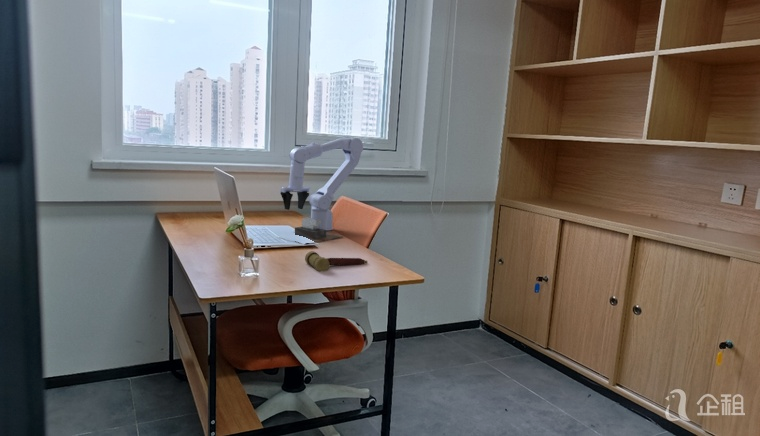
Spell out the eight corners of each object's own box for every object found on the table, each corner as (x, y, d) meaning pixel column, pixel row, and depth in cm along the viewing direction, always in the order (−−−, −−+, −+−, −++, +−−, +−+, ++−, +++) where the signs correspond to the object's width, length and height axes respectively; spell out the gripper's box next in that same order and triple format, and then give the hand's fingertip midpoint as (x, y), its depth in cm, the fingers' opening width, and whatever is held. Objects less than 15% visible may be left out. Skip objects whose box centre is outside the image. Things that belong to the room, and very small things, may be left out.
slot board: (315, 231, 234) (315, 222, 233) (343, 237, 224) (343, 229, 224) (276, 237, 216) (276, 228, 216) (304, 244, 207) (305, 235, 206)
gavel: (361, 251, 190) (375, 258, 181) (360, 264, 190) (373, 272, 182) (305, 251, 179) (317, 258, 171) (304, 264, 180) (315, 272, 171)
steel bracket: (306, 234, 223) (307, 217, 222) (320, 237, 219) (321, 220, 218) (301, 235, 221) (302, 218, 220) (315, 238, 217) (316, 221, 216)
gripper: (302, 176, 235) (299, 206, 237) (276, 175, 224) (274, 208, 226) (314, 178, 231) (311, 209, 233) (288, 177, 220) (285, 210, 221)
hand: (293, 209), depth 229 cm, fingers open, 7 cm apart
